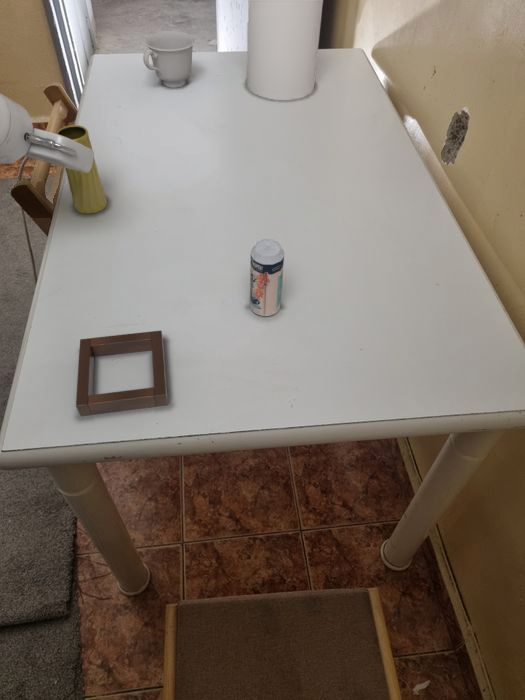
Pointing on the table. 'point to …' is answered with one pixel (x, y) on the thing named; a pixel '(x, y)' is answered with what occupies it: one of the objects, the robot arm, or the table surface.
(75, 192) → the vase
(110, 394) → the brown wooden square frame
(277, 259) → the beer can
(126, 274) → the table surface
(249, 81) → the cylinder
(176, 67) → the teacup
